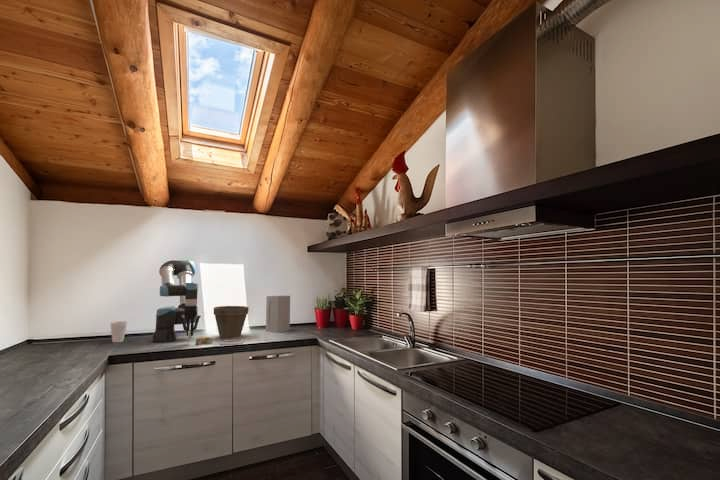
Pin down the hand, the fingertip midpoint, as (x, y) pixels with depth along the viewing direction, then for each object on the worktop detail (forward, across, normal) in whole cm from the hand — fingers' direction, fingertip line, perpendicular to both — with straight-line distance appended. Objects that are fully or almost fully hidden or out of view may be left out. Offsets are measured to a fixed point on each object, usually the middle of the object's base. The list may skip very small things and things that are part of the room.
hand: (189, 340), depth 245 cm
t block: (+2, +10, 0) cm, 10 cm away
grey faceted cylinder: (+2, +54, +47) cm, 71 cm away
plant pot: (+2, +21, +26) cm, 33 cm away
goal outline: (+2, +28, 0) cm, 28 cm away
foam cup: (+2, -52, +14) cm, 54 cm away
